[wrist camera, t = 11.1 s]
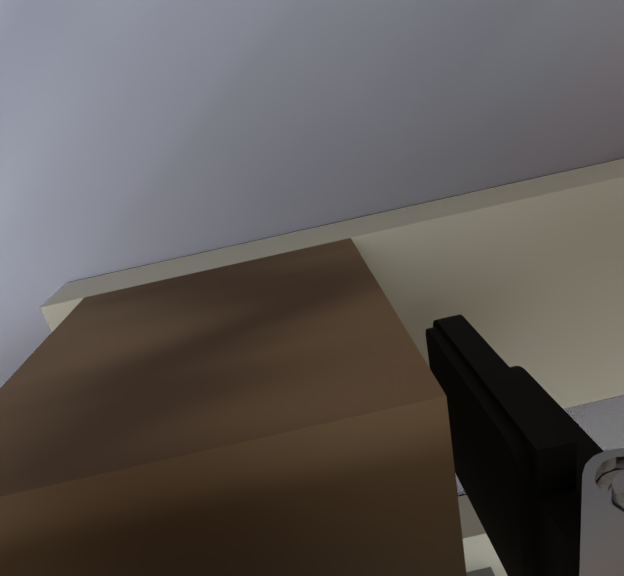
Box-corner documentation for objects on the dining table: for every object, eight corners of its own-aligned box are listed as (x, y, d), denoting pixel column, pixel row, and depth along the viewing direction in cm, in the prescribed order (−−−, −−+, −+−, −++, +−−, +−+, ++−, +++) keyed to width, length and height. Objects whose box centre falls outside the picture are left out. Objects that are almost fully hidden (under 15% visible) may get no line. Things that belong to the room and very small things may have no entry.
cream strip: (844, 109, 12) (1657, 121, 5) (798, 318, 14) (1310, 528, 7) (66, 282, 12) (-223, 547, 5) (146, 466, 14) (28, 824, 7)
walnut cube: (350, 238, 10) (447, 396, 5) (388, 448, 13) (482, 719, 7) (84, 297, 10) (-126, 524, 5) (170, 498, 13) (94, 810, 7)
